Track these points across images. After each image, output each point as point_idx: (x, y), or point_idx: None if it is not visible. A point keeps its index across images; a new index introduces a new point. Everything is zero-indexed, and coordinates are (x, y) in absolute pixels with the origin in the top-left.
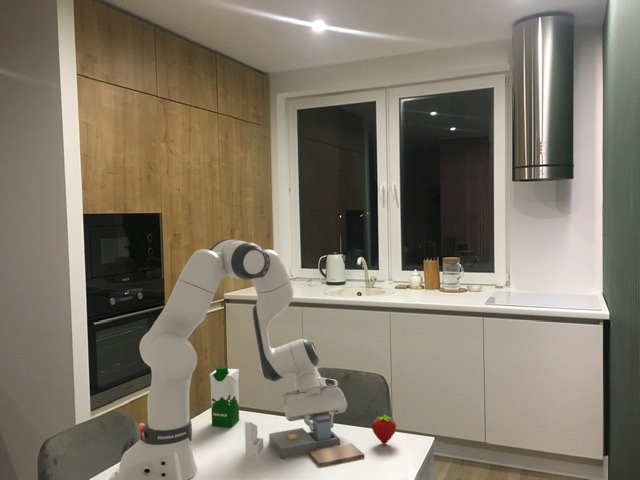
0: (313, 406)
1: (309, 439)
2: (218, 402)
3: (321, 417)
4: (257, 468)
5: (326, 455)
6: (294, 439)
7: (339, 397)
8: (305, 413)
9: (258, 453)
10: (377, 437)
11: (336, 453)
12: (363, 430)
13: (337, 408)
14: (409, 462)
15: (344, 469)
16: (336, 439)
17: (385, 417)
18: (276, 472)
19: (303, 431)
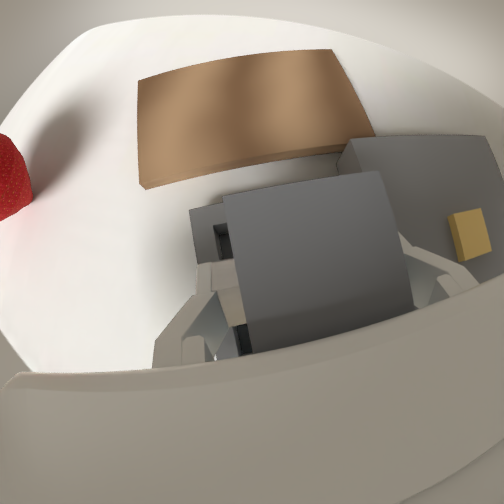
0: (453, 379)
1: (388, 183)
2: None
3: (330, 237)
4: (499, 125)
5: (298, 86)
6: (457, 209)
7: (11, 488)
8: (498, 280)
9: None
10: (29, 185)
11: (248, 92)
12: (53, 365)
13: (85, 376)
14: (52, 73)
15: (244, 33)
16: (211, 205)
17: None
18: (452, 82)
19: None
